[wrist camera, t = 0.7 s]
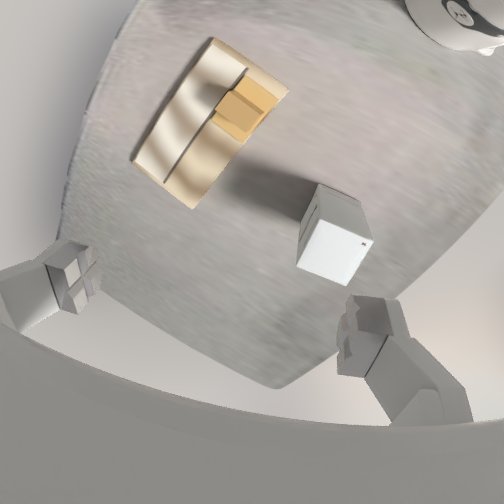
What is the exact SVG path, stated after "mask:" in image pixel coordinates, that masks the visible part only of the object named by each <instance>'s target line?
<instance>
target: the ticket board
mask: <svg viewBox="0 0 504 504" xmlns="http://www.w3.org/2000/svg"><path fill="white" fill-rule="evenodd" d="M245 75H246V76H248V77H249V78H250V79H252V80H253V81H254V82H256V83H257V84H258V85H260V86H261V87H263V88H264V89H265V90H266V91H268V92H269V93H270V94H272V95H273V96H274V97H276V98H277V99H278V101H277V102H276V104H275V105H274V106H273V107H272V108H271V109H270V111H269V112H268V113H267V114H266V115H265V116H264V118H263V119H262V120H261V121H260V122H259V124H258V125H257V126H256V127H255V128H254V130H253V131H252V132H251V133H250V134H249V136H248V137H247V138H246V139H245V141H244V142H243V143H241V142H240V141H238V140H237V139H236V138H235V137H233V136H232V135H231V134H229V133H228V132H227V131H225V130H224V129H223V128H221V127H220V126H219V125H217V124H216V123H215V122H213V121H212V120H211V119H212V117H213V116H214V115H215V113H216V112H217V111H216V110H215V108H216V107H217V106H218V104H219V103H220V102H221V100H222V99H223V98H224V96H225V95H226V94H227V93H228V91H233V90H234V89H235V88H236V86H237V85H238V84H239V83H240V81H241V80H242V79H243V78H244V76H245ZM288 91H289V89H288V88H287V87H285V86H284V85H283V84H281V83H280V82H279V81H277V80H276V79H275V78H273V77H272V76H271V75H269V74H268V73H267V72H265V71H264V70H263V69H261V68H260V67H259V66H257V65H256V64H254V63H253V62H251V61H250V60H249V59H247V58H246V57H244V56H243V55H241V54H240V53H238V52H237V51H235V50H234V49H232V48H231V47H229V46H228V45H226V44H225V43H223V42H222V41H220V40H219V39H217V38H214V39H213V40H212V42H211V43H210V44H209V45H208V47H207V48H206V49H205V51H204V52H203V53H202V55H201V56H200V57H199V59H198V60H197V61H196V63H195V64H194V65H193V67H192V68H191V70H190V71H189V72H188V74H187V75H186V77H185V78H184V79H183V81H182V82H181V84H180V85H179V87H178V88H177V90H176V91H175V93H174V94H173V96H172V97H171V99H170V100H169V102H168V103H167V105H166V106H165V108H164V109H163V111H162V112H161V114H160V116H159V117H158V119H157V120H156V122H155V124H154V125H153V127H152V129H151V130H150V132H149V134H148V135H147V137H146V139H145V140H144V142H143V144H142V146H141V147H140V149H139V151H138V153H137V155H136V156H135V158H134V160H133V162H132V164H133V165H135V166H136V167H137V168H139V169H140V170H141V171H143V172H144V173H145V174H146V175H148V176H149V177H150V178H152V179H153V180H154V181H155V182H157V183H158V184H159V185H161V186H162V187H163V188H165V189H166V190H167V191H168V192H170V193H171V194H172V195H174V196H175V197H176V198H177V199H179V200H180V201H181V202H183V203H184V204H185V205H187V206H188V207H189V208H190V209H192V210H193V209H194V208H195V206H196V205H197V204H198V202H199V201H200V200H201V198H202V197H203V196H204V194H205V193H206V192H207V190H208V189H209V188H210V186H211V185H212V184H213V182H214V181H215V180H216V179H217V177H218V176H219V175H220V173H221V172H222V171H223V170H224V168H225V167H226V166H227V165H228V163H229V162H230V161H231V159H232V158H233V157H234V156H235V154H236V153H237V152H238V151H239V149H240V148H241V147H242V146H243V145H244V143H245V142H246V141H247V140H248V138H249V137H250V136H251V135H252V134H253V132H254V131H255V130H256V129H257V128H258V126H259V125H260V124H261V123H262V122H263V120H264V119H265V118H266V117H267V116H268V114H269V113H270V112H271V111H272V110H273V109H274V107H275V106H276V105H277V104H278V103H279V102H280V101H281V99H282V98H283V97H284V96H285V95H286V94H287V93H288Z"/></svg>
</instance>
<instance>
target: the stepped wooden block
mask: <svg viewBox="0 0 504 504" xmlns="http://www.w3.org/2000/svg"><path fill="white" fill-rule="evenodd" d="M277 101H278V99H277V98H276V97H274V96H273V95H272V94H270V93H269V92H268V91H266V90H265V89H264V88H263V87H261V86H260V85H258V84H257V83H256V82H254V81H253V80H252V79H250V78H249V77H248V76H246V75H245V76H244V78H243V79H242V80H241V81H240V83H239V84H238V85H237V86H236V88H235V89H234V90H233V91H228V93H227V94H226V95H225V96H224V98H223V99H222V100H221V102H220V103H219V104H218V106H217V107H216V108H215V110H216V111H217V112H216V113H215V115H214V116H213V117H212V119H211V120H212V121H213V122H215V123H216V124H217V125H219V126H220V127H221V128H223V129H224V130H225V131H227V132H228V133H229V134H231V135H232V136H233V137H235V138H236V139H237V140H238V141H240V142H241V143H243V142H244V141H245V139H246V138H247V137H248V136H249V134H250V133H251V132H252V131H253V130H254V128H255V127H256V126H257V125H258V124H259V122H260V121H261V120H262V119H263V118H264V116H265V115H266V114H267V113H268V112H269V111H270V109H271V108H272V107H273V106H274V105H275V104H276V102H277Z"/></svg>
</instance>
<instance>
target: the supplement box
mask: <svg viewBox="0 0 504 504" xmlns="http://www.w3.org/2000/svg"><path fill="white" fill-rule="evenodd" d="M373 242H374V240H373V237H372V234H371V231H370V228H369V225H368V222H367V219H366V216H365V213H364V210H363V208H362V205H361V202H359V201H357V200H355V199H353V198H351V197H349V196H346V195H344V194H342V193H340V192H338V191H335V190H333V189H331V188H328V187H326V186H324V185H321V184H318V186H317V188H316V191H315V193H314V195H313V198H312V200H311V202H310V204H309V206H308V208H307V211H306V213H305V215H304V217H303V219H302V220H301V222H300V231H299V240H298V251H297V261H296V267H299V268H301V269H304V270H306V271H309V272H312V273H314V274H317V275H319V276H322V277H324V278H327V279H329V280H332V281H334V282H336V283H339V284H341V285H344V286H346V285H347V284H348V282H349V281H350V279H351V278H352V276H353V275H354V273H355V271H356V270H357V268H358V267H359V265H360V264H361V262H362V260H363V258H364V257H365V255H366V254H367V252H368V250H369V249H370V247H371V245H372V244H373Z"/></svg>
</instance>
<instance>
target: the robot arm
mask: <svg viewBox="0 0 504 504" xmlns="http://www.w3.org/2000/svg"><path fill="white" fill-rule="evenodd" d="M405 4H406V6H407V9H408V11H409V13H410V15H411V17H412V18H413V20H414V21H415V23H416V24H417V25H418V26H419V28H420V29H421V30H422V31H423V32H424V33H425V34H426V35H428V36H429V37H430V38H431V39H433V40H434V41H436V42H437V43H439V44H441V45H443V46H445V47H447V48H450V49H454V50H470V51H474V52H476V53H478V54H480V55H483V56H490V55H491V54H492V53H493V51H494V49H495V47H497V46H502V45H504V0H405ZM98 258H99V256H98V252H97V248H95V247H94V246H93V245H88V244H84V243H80V242H76V241H71V240H67V239H58V240H57V241H55V242H54V243H53V244H52V245H51V246H50V247H48V248H47V249H46V250H45V251H43V252H42V253H41V254H40V255H39V256H37V257H36V258H35V259H34V260H33V261H32V260H29V261H26V262H23V263H20V264H18V265H15V266H12V267H9V268H7V269H4V270H1V271H0V504H504V418H502V419H495V420H488V421H480V422H474V421H473V418H472V413H471V409H470V405H469V402H468V399H467V395H466V391H465V388H464V387H463V386H462V385H461V384H460V383H459V382H458V381H457V380H456V379H455V378H454V377H453V376H452V375H451V374H450V373H449V372H448V371H447V370H446V369H445V368H444V367H443V366H442V365H441V364H440V363H439V362H438V361H437V360H436V359H435V358H434V357H433V356H432V355H431V354H430V353H429V352H428V351H427V350H426V349H425V348H424V347H423V346H422V345H421V344H420V343H419V342H418V341H417V340H416V339H415V338H410V334H409V331H408V327H407V324H406V321H405V317H404V314H403V311H402V308H401V305H400V302H399V301H398V300H396V299H388V298H376V297H369V296H363V295H356V294H350V296H349V297H348V300H347V302H346V313H345V314H343V315H342V316H341V319H340V322H339V325H338V330H337V339H336V341H337V347H338V348H339V349H340V351H339V354H338V356H337V372H338V374H339V375H346V376H354V377H362V378H364V379H365V381H366V383H367V384H368V386H369V387H370V389H371V390H372V392H373V393H374V395H375V397H376V398H377V400H378V401H379V403H380V404H381V406H382V407H383V409H384V411H385V412H386V414H387V415H388V417H389V419H390V420H391V422H392V423H391V424H390V425H389V426H365V425H347V424H334V423H322V422H312V421H305V420H297V419H289V418H282V417H275V416H269V415H263V414H257V413H252V412H246V411H241V410H236V409H231V408H227V407H222V406H217V405H213V404H209V403H205V402H200V401H196V400H193V399H189V398H185V397H181V396H178V395H174V394H170V393H167V392H163V391H161V390H157V389H154V388H151V387H148V386H145V385H141V384H138V383H135V382H132V381H130V380H127V379H124V378H121V377H118V376H115V375H113V374H110V373H107V372H105V371H102V370H100V369H97V368H94V367H92V366H89V365H87V364H85V363H82V362H80V361H77V360H75V359H73V358H70V357H68V356H66V355H64V354H61V353H59V352H57V351H55V350H53V349H51V348H48V347H46V346H44V345H42V344H40V343H38V342H36V341H34V340H32V339H30V338H28V337H26V336H24V335H22V334H20V333H22V332H23V331H25V330H27V329H28V328H30V327H32V326H33V325H35V324H37V323H38V322H40V321H42V320H43V319H45V318H47V317H48V316H50V315H52V314H54V313H55V312H57V311H59V310H60V309H62V310H65V311H68V312H71V313H74V314H77V315H78V314H79V313H80V312H81V311H82V309H83V308H84V307H85V306H86V304H87V303H88V297H90V296H92V295H94V294H96V292H97V291H98V290H99V288H100V285H101V282H102V271H101V268H100V266H99V265H98V263H97V260H98Z"/></svg>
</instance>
